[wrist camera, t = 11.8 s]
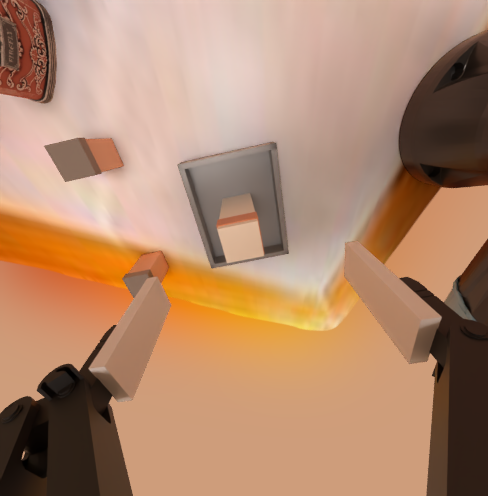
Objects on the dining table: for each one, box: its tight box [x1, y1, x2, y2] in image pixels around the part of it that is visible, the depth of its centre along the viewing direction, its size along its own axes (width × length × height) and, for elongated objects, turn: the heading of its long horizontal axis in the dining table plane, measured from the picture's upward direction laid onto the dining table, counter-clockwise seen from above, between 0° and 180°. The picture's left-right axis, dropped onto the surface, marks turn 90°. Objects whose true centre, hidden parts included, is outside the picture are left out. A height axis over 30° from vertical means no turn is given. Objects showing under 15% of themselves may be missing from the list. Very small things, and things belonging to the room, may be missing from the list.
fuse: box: [216, 193, 265, 263], centre depth 24 cm, size 4×4×10 cm
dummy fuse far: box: [122, 251, 169, 298], centre depth 29 cm, size 3×3×6 cm
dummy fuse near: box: [44, 138, 124, 182], centre depth 22 cm, size 3×3×6 cm
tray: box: [178, 142, 289, 268], centre depth 27 cm, size 11×14×3 cm
